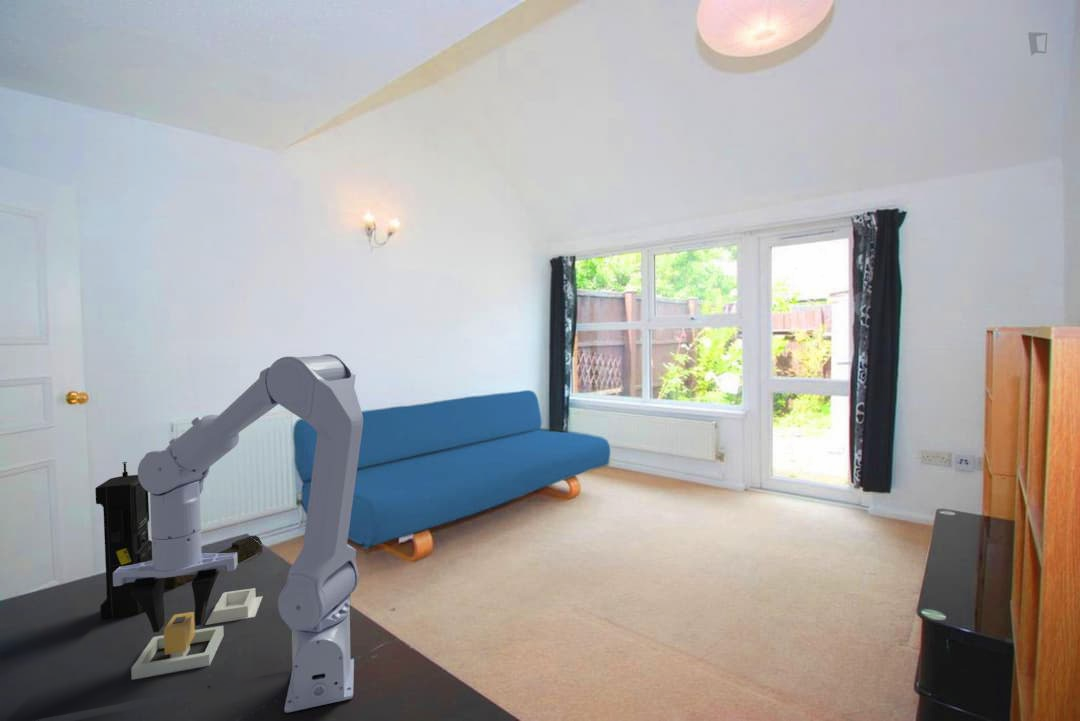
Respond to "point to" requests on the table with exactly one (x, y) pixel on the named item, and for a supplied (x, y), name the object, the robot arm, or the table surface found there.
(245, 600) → the white open box
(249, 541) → the dark brown log
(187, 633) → the block
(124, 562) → the portable radio
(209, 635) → the parts tray
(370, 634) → the table surface
